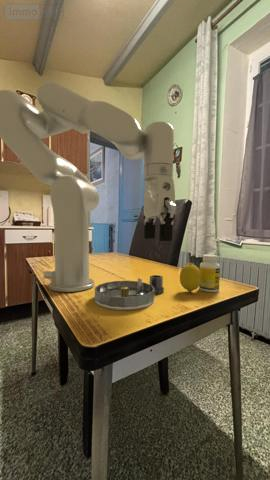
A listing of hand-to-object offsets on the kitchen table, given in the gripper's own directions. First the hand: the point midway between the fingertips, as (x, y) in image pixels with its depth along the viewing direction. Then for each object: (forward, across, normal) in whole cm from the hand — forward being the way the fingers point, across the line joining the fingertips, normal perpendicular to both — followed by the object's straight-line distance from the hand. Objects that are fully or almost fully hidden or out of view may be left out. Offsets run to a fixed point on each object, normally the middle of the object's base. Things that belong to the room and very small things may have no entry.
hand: (156, 239), depth 58 cm
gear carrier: (+14, -3, +10) cm, 18 cm away
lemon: (+14, -3, -9) cm, 17 cm away
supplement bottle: (+14, -3, -15) cm, 21 cm away
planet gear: (+14, 0, 0) cm, 14 cm away
